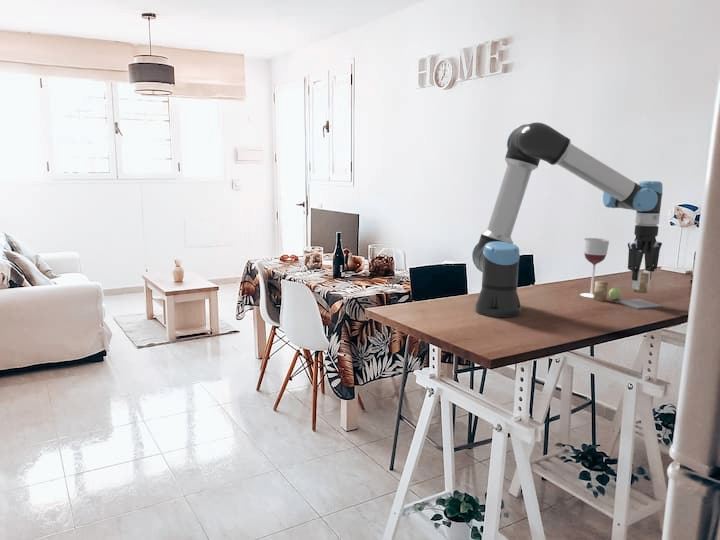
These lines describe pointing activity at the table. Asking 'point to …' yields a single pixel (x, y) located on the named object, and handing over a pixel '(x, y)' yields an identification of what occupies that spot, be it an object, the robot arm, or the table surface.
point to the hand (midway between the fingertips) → (640, 288)
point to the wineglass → (594, 256)
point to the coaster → (638, 304)
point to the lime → (615, 293)
